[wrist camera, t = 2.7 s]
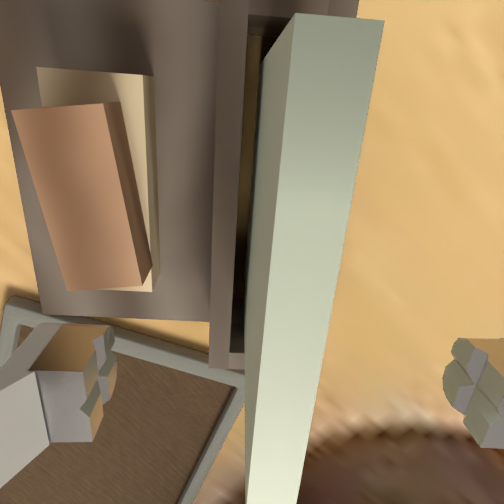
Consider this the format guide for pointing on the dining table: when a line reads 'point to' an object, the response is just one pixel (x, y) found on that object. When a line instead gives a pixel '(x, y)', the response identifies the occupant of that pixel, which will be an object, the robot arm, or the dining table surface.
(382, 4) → the dining table surface
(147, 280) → the offcut lower
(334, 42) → the grey-green rectangular panel
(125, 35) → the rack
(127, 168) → the offcut upper
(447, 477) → the dining table surface
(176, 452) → the grey brown flat frame
